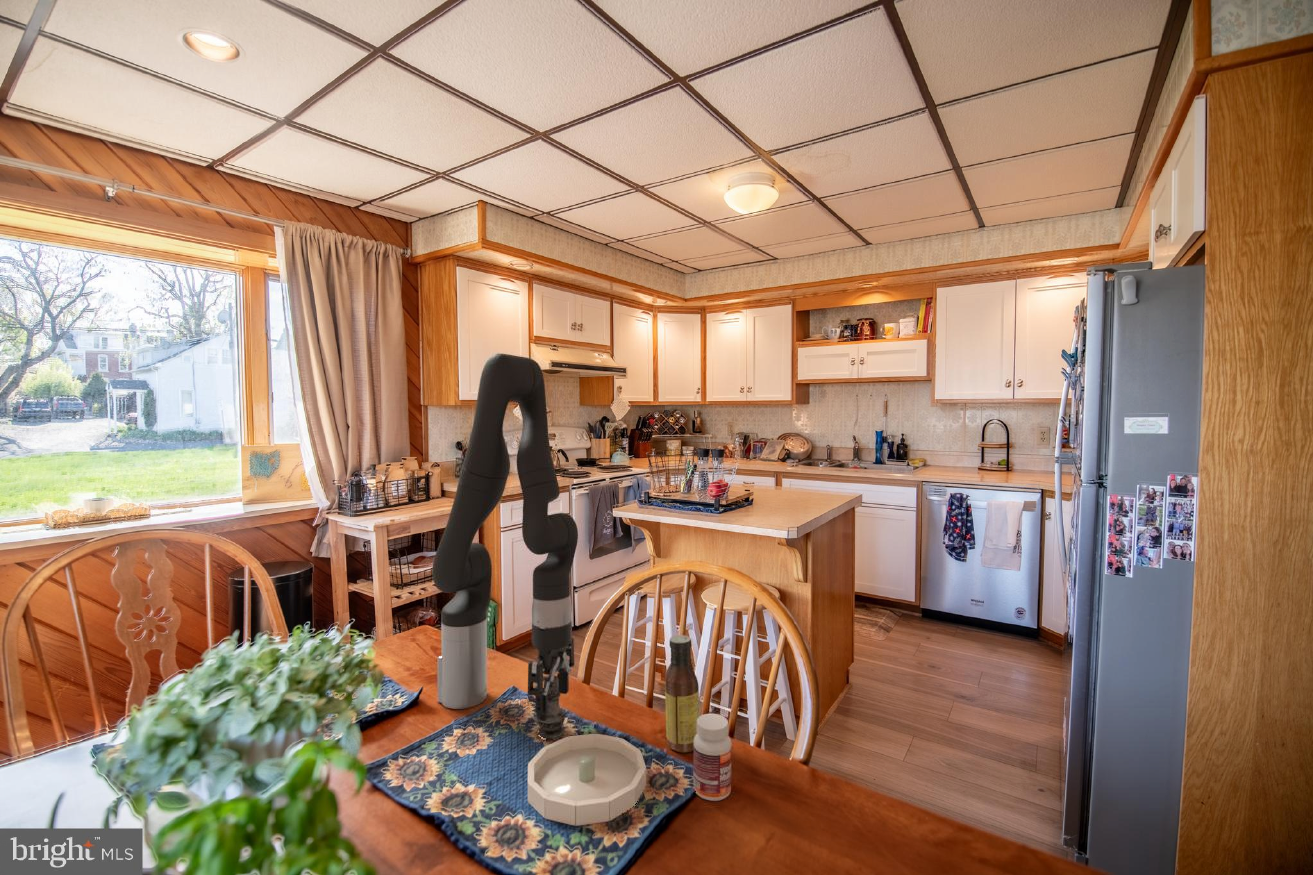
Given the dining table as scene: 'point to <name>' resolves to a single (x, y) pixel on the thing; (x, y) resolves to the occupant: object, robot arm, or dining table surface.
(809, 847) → the dining table surface
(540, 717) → the dark stone tower
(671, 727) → the sauce bottle
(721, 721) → the pill bottle
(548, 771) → the tray
